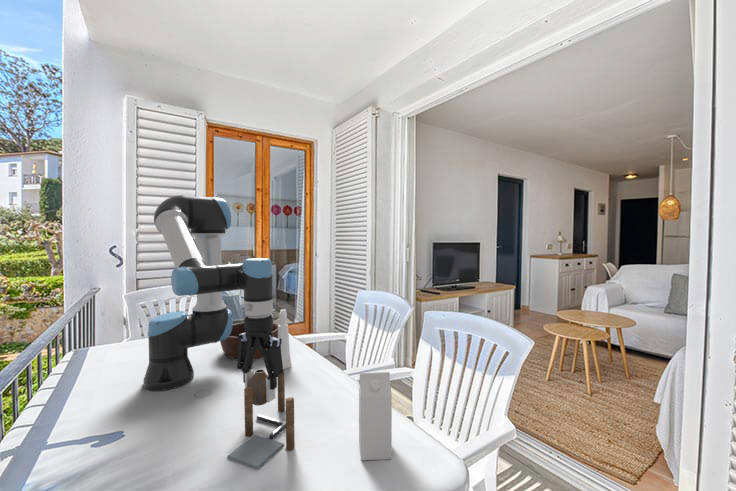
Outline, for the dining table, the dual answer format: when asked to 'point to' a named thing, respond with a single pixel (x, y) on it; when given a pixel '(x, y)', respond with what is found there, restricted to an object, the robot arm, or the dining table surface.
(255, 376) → the vase
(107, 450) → the dining table surface
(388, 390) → the milk carton
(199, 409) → the dining table surface
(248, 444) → the pad
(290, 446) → the posts
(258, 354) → the wooden bowl
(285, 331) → the cosmetic bottle
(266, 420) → the grey l-shaped bracket
